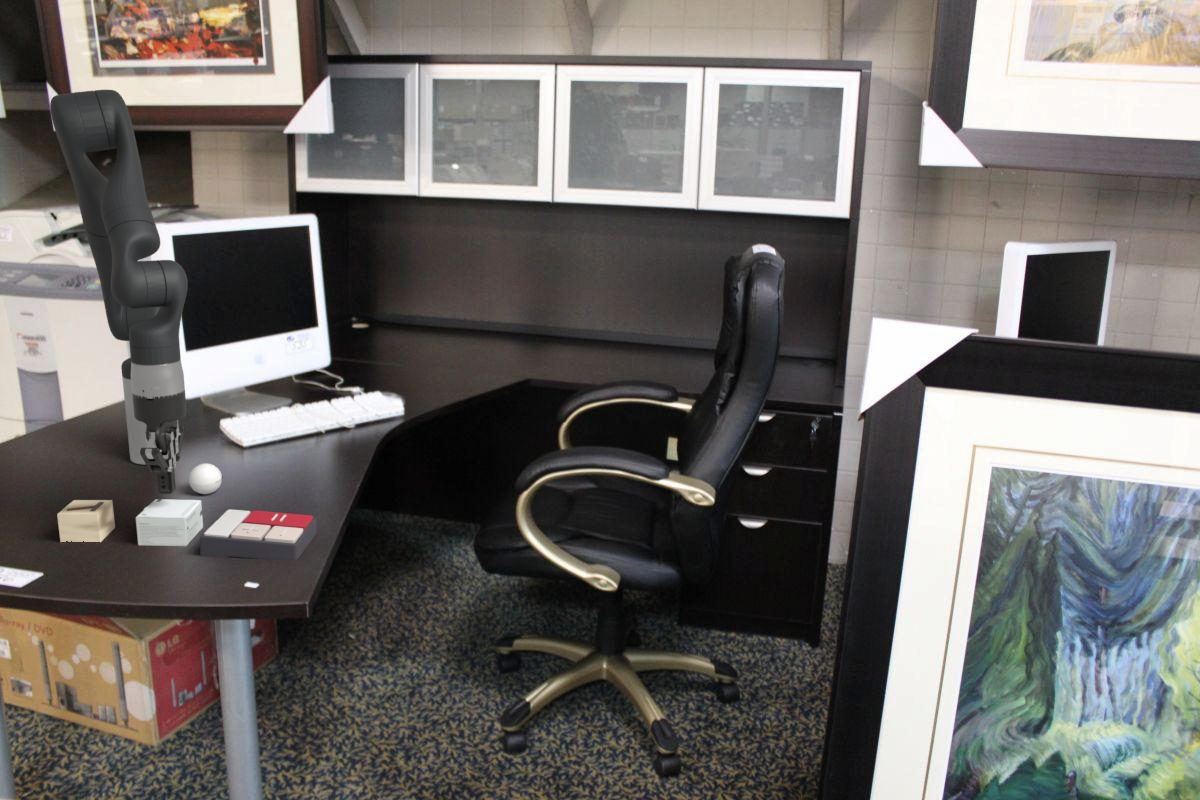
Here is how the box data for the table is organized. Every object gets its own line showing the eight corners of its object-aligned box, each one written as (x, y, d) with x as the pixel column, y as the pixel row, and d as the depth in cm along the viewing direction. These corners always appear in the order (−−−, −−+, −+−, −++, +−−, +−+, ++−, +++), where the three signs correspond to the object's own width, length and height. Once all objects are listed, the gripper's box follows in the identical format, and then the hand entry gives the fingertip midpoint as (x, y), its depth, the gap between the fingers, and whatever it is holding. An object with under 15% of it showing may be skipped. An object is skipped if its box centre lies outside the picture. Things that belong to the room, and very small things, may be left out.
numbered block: (77, 528, 156) (73, 499, 154) (115, 528, 156) (112, 499, 155) (60, 543, 150) (56, 513, 148) (100, 543, 150) (96, 513, 149)
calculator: (296, 540, 146) (198, 531, 146) (296, 566, 147) (199, 557, 147) (317, 513, 157) (226, 505, 157) (317, 537, 158) (226, 529, 158)
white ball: (212, 500, 169) (210, 470, 168) (183, 497, 170) (181, 467, 169) (235, 485, 177) (233, 457, 175) (207, 482, 177) (205, 454, 176)
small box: (187, 547, 150) (184, 517, 149) (136, 546, 150) (133, 516, 149) (204, 527, 158) (202, 499, 157) (156, 526, 158) (154, 498, 156)
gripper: (149, 377, 154) (158, 477, 158) (116, 399, 141) (126, 507, 145) (197, 378, 154) (204, 478, 159) (168, 400, 141) (177, 507, 146)
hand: (167, 492), depth 152 cm, fingers closed
